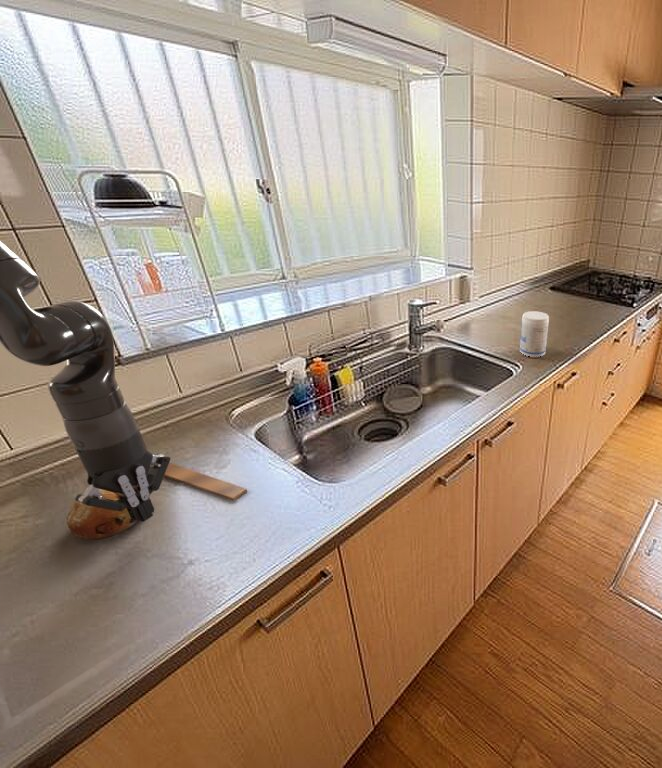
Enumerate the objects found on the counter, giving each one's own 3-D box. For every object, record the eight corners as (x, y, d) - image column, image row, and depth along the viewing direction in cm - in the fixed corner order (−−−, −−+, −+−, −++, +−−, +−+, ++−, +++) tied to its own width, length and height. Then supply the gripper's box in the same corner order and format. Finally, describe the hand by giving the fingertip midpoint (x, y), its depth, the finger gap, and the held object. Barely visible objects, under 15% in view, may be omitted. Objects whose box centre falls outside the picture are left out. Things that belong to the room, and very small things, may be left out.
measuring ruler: (145, 469, 87) (144, 467, 86) (160, 461, 89) (159, 459, 89) (233, 500, 80) (232, 498, 80) (247, 491, 83) (246, 488, 82)
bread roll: (140, 510, 81) (115, 476, 79) (164, 508, 76) (138, 471, 74) (76, 547, 73) (47, 510, 71) (98, 548, 68) (67, 507, 66)
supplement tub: (515, 350, 156) (517, 312, 149) (537, 347, 160) (540, 309, 153) (527, 360, 148) (530, 320, 141) (550, 356, 152) (554, 317, 145)
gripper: (135, 408, 71) (168, 488, 79) (34, 451, 60) (84, 539, 67) (167, 418, 69) (197, 498, 77) (69, 464, 58) (116, 553, 65)
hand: (144, 517), depth 72 cm, fingers closed
